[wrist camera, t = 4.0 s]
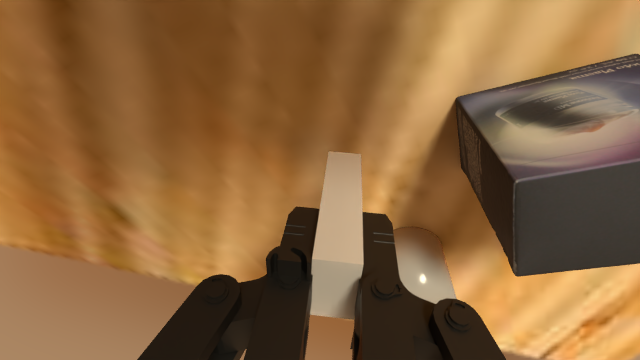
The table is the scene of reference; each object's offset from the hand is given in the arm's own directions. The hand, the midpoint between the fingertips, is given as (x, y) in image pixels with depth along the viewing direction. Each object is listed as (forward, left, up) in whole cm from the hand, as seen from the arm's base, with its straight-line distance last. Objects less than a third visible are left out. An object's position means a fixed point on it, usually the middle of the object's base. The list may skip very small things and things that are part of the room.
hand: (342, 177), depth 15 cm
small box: (+13, 0, -9) cm, 16 cm away
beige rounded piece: (+7, -14, -9) cm, 18 cm away
